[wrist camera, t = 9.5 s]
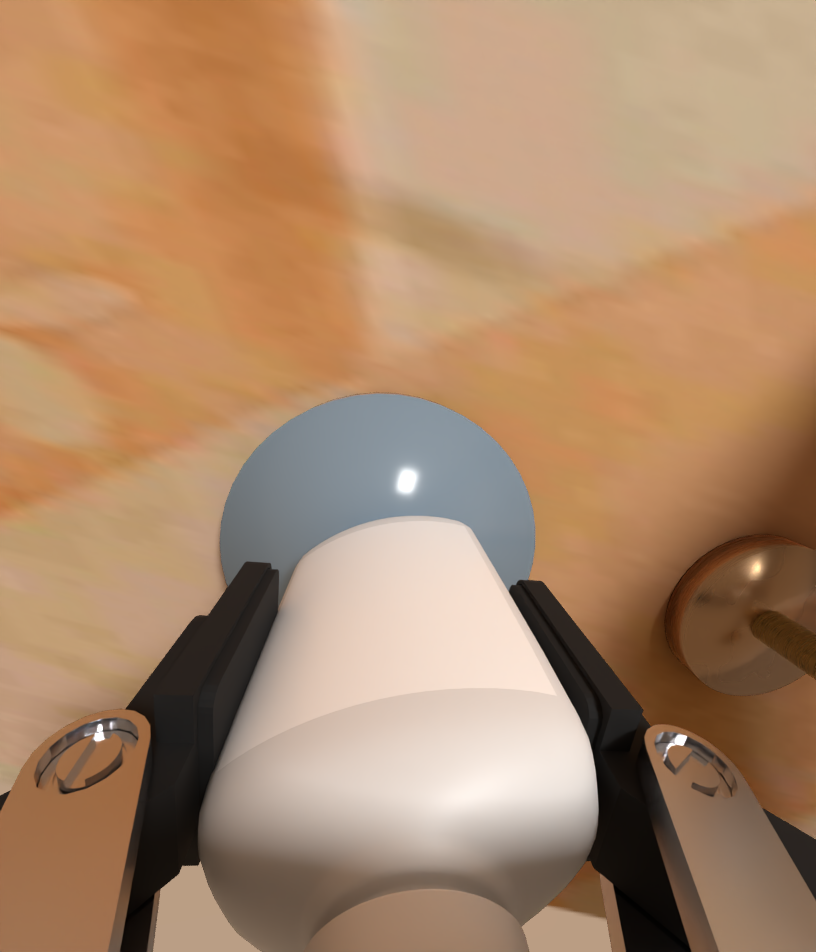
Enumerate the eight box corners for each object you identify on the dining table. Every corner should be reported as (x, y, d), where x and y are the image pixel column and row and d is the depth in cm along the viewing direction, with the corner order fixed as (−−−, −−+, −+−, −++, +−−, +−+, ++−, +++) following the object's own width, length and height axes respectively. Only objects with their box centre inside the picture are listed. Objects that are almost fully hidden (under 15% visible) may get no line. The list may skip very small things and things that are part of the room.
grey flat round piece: (232, 374, 13) (218, 374, 12) (549, 410, 14) (564, 414, 13) (232, 655, 15) (220, 678, 14) (496, 666, 17) (505, 688, 15)
